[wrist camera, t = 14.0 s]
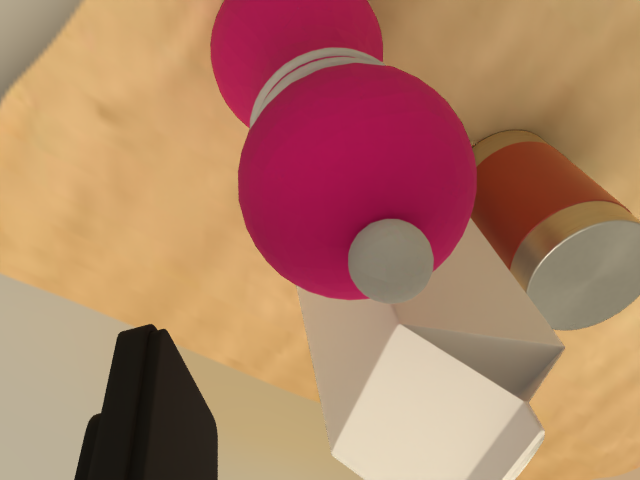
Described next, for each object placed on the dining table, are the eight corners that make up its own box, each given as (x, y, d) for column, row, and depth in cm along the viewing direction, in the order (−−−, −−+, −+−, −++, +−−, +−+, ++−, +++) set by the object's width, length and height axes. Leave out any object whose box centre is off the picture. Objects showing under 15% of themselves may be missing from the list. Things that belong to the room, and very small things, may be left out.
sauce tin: (555, 115, 32) (672, 202, 24) (551, 209, 36) (650, 311, 28) (445, 145, 32) (525, 243, 24) (452, 236, 36) (524, 346, 28)
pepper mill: (363, -52, 26) (634, 105, 9) (352, 99, 30) (527, 392, 13) (204, -56, 24) (198, 117, 8) (215, 102, 28) (225, 426, 12)
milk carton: (285, 242, 34) (351, 558, 19) (321, 138, 31) (438, 422, 15) (389, 260, 36) (523, 557, 21) (433, 165, 33) (635, 438, 17)
